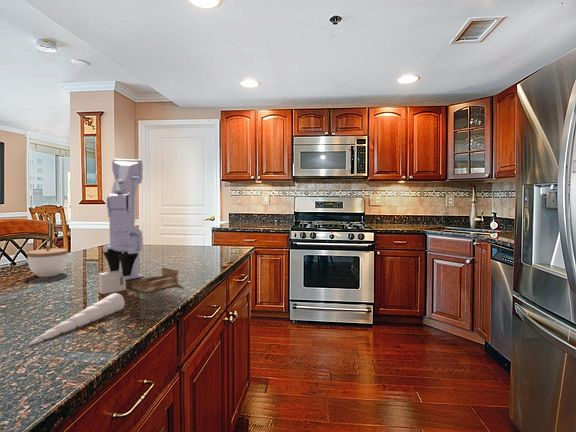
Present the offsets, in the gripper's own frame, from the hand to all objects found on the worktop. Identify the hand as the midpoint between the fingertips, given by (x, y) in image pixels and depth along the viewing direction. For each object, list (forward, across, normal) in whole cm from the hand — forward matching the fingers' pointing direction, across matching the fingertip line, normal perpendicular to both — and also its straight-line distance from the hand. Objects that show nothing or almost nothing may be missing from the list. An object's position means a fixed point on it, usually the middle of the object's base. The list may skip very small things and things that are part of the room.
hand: (120, 274), depth 108 cm
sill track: (+5, +5, +9) cm, 11 cm away
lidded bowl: (+5, -42, -6) cm, 43 cm away
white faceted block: (+5, -1, -2) cm, 6 cm away
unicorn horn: (+6, +22, -20) cm, 30 cm away
